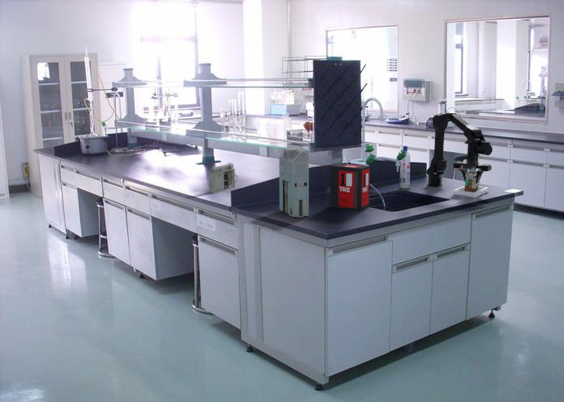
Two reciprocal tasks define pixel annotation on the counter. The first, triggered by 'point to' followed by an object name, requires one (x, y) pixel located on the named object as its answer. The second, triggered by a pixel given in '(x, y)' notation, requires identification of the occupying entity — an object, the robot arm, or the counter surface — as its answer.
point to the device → (294, 181)
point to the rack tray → (461, 192)
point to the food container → (471, 182)
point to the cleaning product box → (349, 186)
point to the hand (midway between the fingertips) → (471, 182)
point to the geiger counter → (222, 178)
